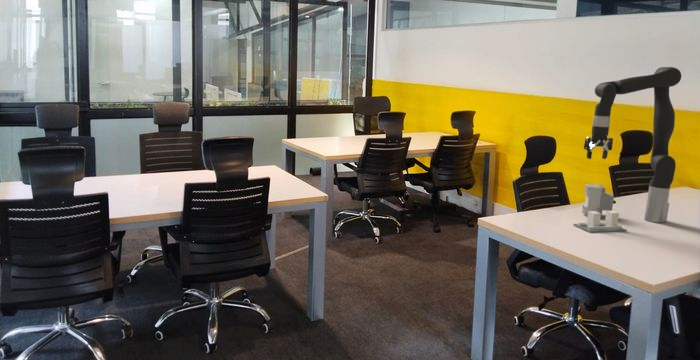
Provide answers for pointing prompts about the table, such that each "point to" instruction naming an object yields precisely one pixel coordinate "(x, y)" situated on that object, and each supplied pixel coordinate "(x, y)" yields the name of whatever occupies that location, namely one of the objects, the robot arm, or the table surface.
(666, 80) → the robot arm
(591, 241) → the table surface
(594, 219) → the block
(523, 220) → the table surface
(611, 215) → the rail plate
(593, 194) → the circuit breaker
